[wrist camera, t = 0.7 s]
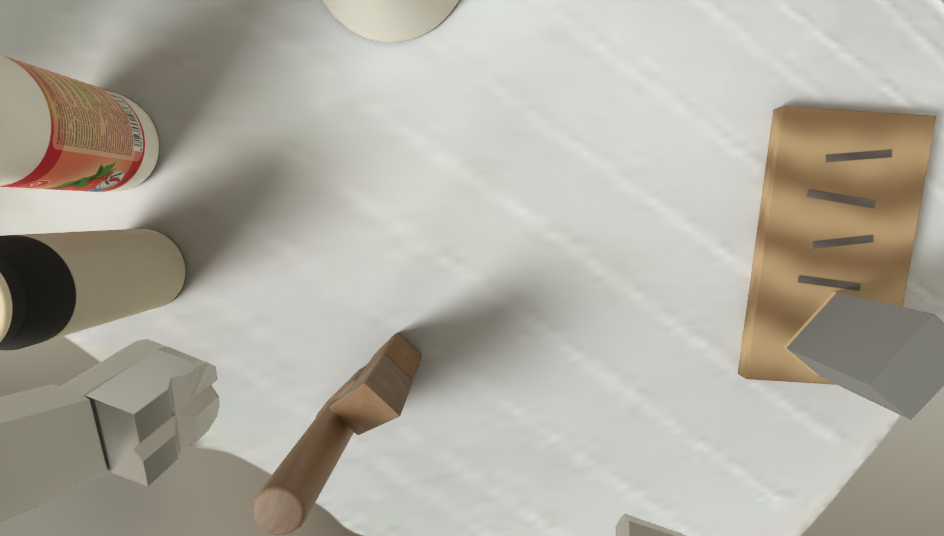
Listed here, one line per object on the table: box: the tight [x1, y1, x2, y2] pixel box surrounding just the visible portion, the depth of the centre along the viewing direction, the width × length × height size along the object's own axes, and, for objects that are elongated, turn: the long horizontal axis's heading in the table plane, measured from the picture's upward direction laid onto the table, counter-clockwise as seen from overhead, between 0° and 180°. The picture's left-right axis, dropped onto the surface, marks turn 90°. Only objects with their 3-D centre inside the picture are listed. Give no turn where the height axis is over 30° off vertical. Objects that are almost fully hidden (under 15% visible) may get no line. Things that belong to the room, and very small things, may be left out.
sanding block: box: [784, 292, 944, 420], centre depth 41 cm, size 7×4×10 cm, turn 141°
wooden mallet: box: [253, 333, 421, 535], centre depth 39 cm, size 4×11×18 cm, turn 135°
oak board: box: [738, 107, 936, 385], centre depth 45 cm, size 26×14×2 cm, turn 176°
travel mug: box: [0, 229, 185, 350], centre depth 38 cm, size 8×8×18 cm
